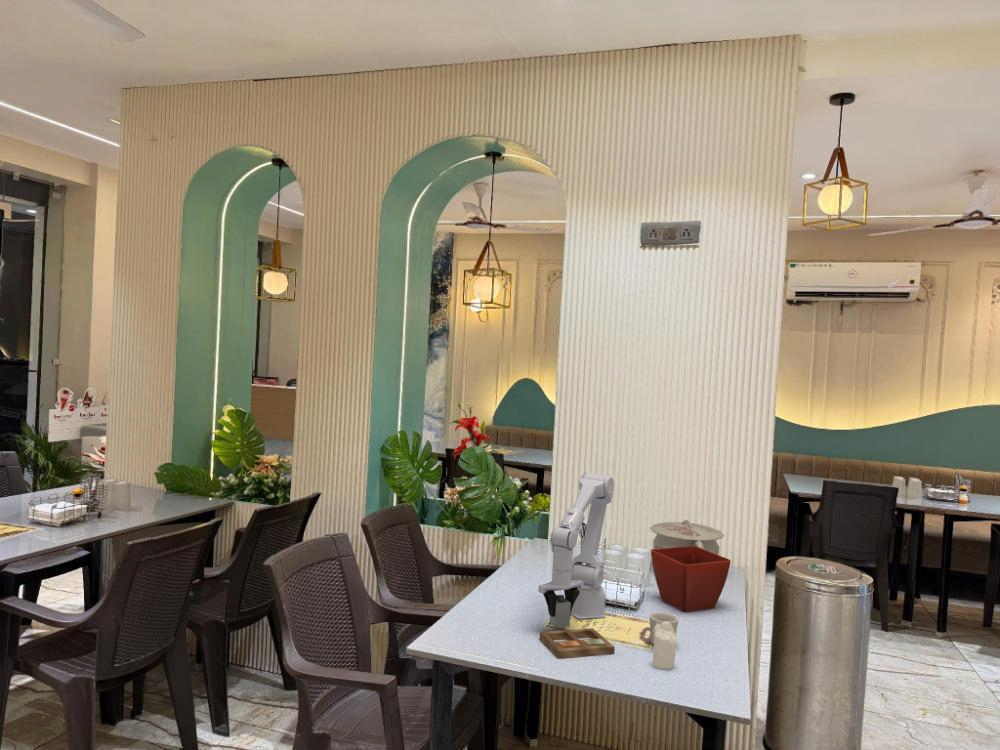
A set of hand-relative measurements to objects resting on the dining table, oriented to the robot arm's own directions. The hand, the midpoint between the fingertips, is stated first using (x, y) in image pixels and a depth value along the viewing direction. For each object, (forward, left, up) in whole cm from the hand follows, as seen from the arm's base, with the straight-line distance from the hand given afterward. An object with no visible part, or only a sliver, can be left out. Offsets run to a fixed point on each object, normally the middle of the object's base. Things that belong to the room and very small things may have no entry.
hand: (559, 614), depth 219 cm
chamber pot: (-70, -46, -5) cm, 84 cm away
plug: (0, 0, -3) cm, 3 cm away
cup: (-24, +17, -5) cm, 30 cm away
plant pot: (-52, -14, -5) cm, 54 cm away
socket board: (0, +13, -5) cm, 13 cm away
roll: (-18, +29, -5) cm, 35 cm away
